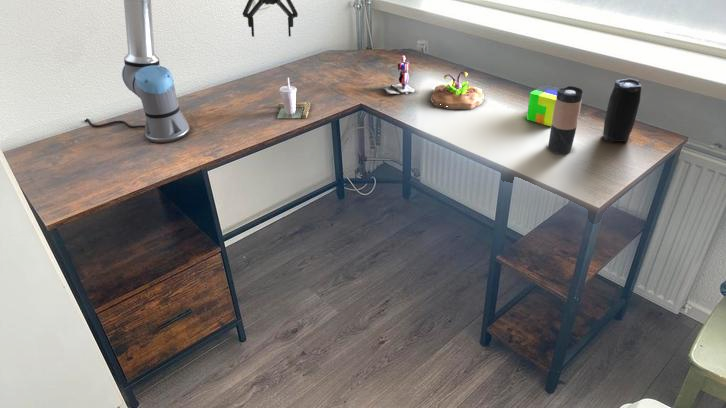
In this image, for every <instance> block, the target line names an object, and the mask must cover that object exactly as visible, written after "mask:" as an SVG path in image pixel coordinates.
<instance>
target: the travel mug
mask: <svg viewBox="0 0 726 408" xmlns="http://www.w3.org/2000/svg"><path fill="white" fill-rule="evenodd" d="M558 88H559V89H558V91H557V96H556V102H555V107H554V113H553V118H552V124H551V126H550V130H549V131H550V133H549V138H548V139H549V140H548V150H549V151H550V152H552V153H555V154H559V155H565V154H569V153H570V152H571V151H572V148H573V144H574V140H575V135H576V131H577V127H578V122H579V121H578V120H579V117H580V111H581V107H582V101H583V96H584V91H583V89H582V88H579V87H576V86H571V85H570V86H567V87H558Z"/></svg>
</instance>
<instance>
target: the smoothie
mask: <svg viewBox="0 0 726 408" xmlns="http://www.w3.org/2000/svg"><path fill="white" fill-rule="evenodd" d="M286 79H287V85H283V86H281V87H279V89H278V90H279V92H278V93H279V94H280V97H281V100H282V103H283V104H284V108H285V112H286V114H287V115H293V114H295V112H296V102H297V100H296V99H297V87H296V86H295V85H290V77H289V76H288V77H287V78H286Z"/></svg>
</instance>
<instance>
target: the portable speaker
mask: <svg viewBox="0 0 726 408" xmlns="http://www.w3.org/2000/svg"><path fill="white" fill-rule="evenodd" d="M642 88H643V85H642V84H641V81H640V80H638V79H635V78H630V77H629V78H624V79H616V80H615V83H614V86H613V89H612V91H611V93H610V96H609V100H608V103H607V108H606V112H605V117H604V122H603V123H604V124H603V133H602V135H603V139H604V140H605V141H606V142H609V143H612V144H613V143H615V142H624V143H626V142H628V140H629V137H630V135H631V133H632V131H633V127H634V125H635V122H636V118H637V114H638V110H639V107H640V104H641V97H642V96H641V95H642Z"/></svg>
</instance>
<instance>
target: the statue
mask: <svg viewBox="0 0 726 408" xmlns="http://www.w3.org/2000/svg"><path fill="white" fill-rule="evenodd" d="M405 60H406V56H405V55H402V56H401V61H399V62H398V63H397V70H398V71H400V72H399V77H398V82H399V83H397V84H390V86H381V88H382V89H384V92H385V93H386V95H392V94H397V95H402V93H405V95H408V94H410V93H411V94H413V93H416V89H414V88H413V87H411V86H410V85H409V84H408V82H409V72H408V70H409V69H410V63H409V62H407V61H405ZM409 92H410V93H409Z"/></svg>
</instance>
